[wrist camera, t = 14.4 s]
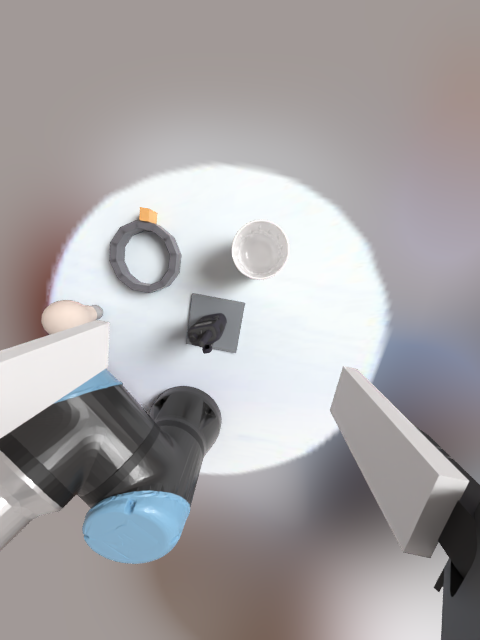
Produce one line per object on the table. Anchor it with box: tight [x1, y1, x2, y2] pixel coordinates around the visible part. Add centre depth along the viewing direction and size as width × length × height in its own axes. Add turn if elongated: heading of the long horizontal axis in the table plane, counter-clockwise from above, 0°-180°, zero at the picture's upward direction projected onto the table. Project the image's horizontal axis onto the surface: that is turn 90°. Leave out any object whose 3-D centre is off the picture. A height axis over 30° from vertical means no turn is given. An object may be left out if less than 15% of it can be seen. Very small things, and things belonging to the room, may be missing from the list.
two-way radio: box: [188, 313, 227, 354], centre depth 36 cm, size 6×4×15 cm
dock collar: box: [110, 207, 181, 293], centre depth 40 cm, size 14×12×3 cm
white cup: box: [232, 220, 289, 280], centre depth 36 cm, size 8×8×10 cm
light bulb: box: [41, 300, 103, 335], centre depth 40 cm, size 7×7×11 cm
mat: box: [186, 293, 245, 353], centre depth 44 cm, size 10×10×1 cm
